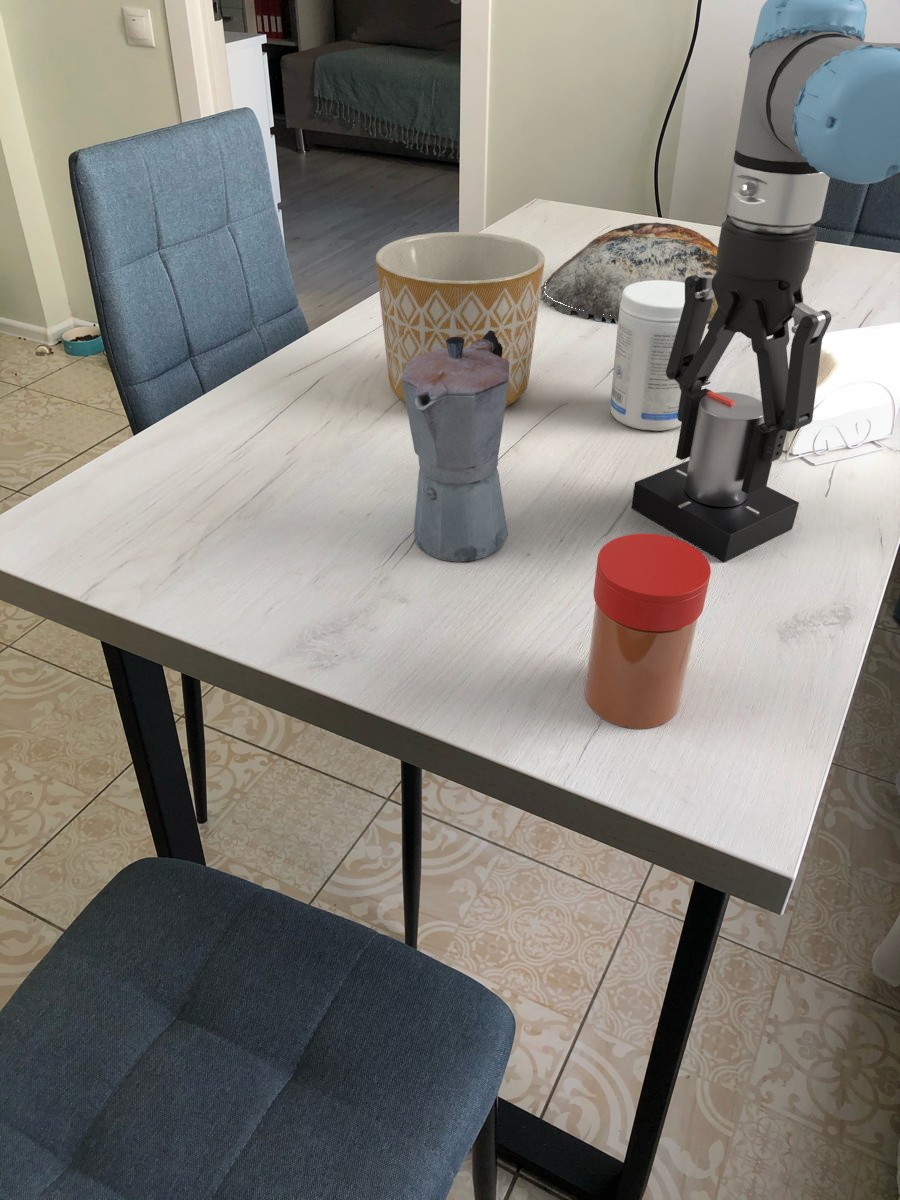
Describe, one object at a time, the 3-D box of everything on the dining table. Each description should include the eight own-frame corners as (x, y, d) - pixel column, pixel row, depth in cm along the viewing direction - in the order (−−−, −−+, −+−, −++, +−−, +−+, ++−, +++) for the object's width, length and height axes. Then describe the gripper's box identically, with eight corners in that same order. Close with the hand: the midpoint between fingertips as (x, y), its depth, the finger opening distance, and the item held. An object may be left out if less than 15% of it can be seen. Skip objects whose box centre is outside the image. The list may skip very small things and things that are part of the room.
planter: (565, 405, 114) (577, 266, 104) (422, 437, 106) (420, 292, 97) (488, 350, 127) (492, 224, 118) (357, 376, 120) (349, 243, 110)
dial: (760, 495, 90) (781, 405, 85) (719, 514, 88) (738, 422, 82) (712, 470, 94) (729, 383, 89) (671, 488, 91) (686, 399, 86)
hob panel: (793, 528, 91) (800, 500, 89) (723, 563, 86) (729, 534, 85) (699, 479, 99) (704, 452, 97) (630, 508, 94) (634, 480, 92)
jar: (699, 703, 71) (727, 579, 64) (632, 743, 68) (653, 616, 61) (631, 654, 76) (650, 533, 69) (565, 688, 72) (578, 565, 65)
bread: (770, 328, 135) (785, 257, 129) (544, 324, 136) (548, 253, 130) (729, 269, 157) (741, 206, 151) (535, 266, 158) (538, 204, 152)
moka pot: (379, 565, 86) (369, 355, 74) (445, 488, 97) (446, 295, 85) (476, 589, 83) (482, 374, 71) (532, 507, 94) (546, 310, 82)
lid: (611, 557, 70) (615, 523, 68) (713, 582, 68) (721, 547, 66) (579, 614, 65) (583, 578, 63) (690, 643, 62) (697, 607, 60)
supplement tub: (700, 410, 113) (722, 287, 104) (674, 441, 106) (695, 313, 97) (624, 393, 117) (640, 273, 108) (595, 422, 110) (608, 296, 101)
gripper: (646, 201, 81) (616, 441, 94) (851, 259, 68) (782, 529, 81) (705, 189, 84) (668, 422, 98) (910, 242, 71) (834, 503, 85)
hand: (720, 470), depth 90 cm, fingers open, 7 cm apart
